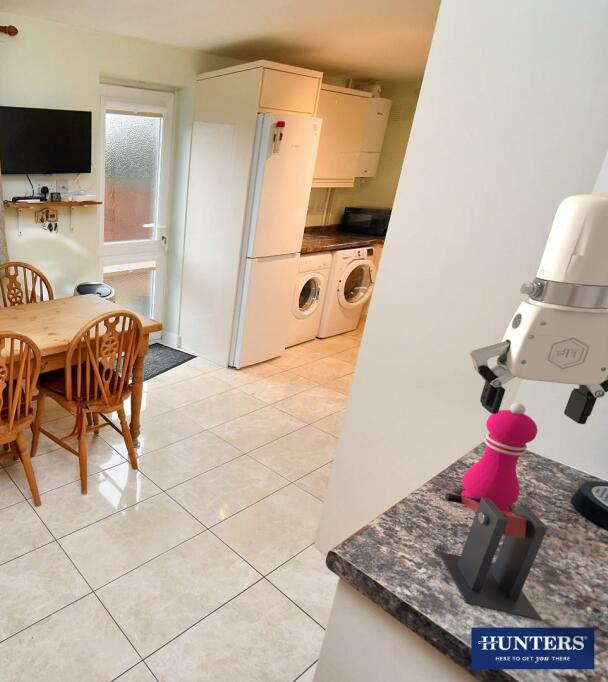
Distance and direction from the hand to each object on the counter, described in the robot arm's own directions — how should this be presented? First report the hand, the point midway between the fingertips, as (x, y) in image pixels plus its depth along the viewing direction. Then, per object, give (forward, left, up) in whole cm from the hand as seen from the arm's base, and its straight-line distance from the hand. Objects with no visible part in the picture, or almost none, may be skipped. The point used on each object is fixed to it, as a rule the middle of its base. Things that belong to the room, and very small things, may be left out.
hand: (530, 414), depth 62 cm
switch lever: (+5, +7, -14) cm, 16 cm away
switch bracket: (+5, +11, -22) cm, 25 cm away
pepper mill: (-3, -9, -22) cm, 24 cm away
